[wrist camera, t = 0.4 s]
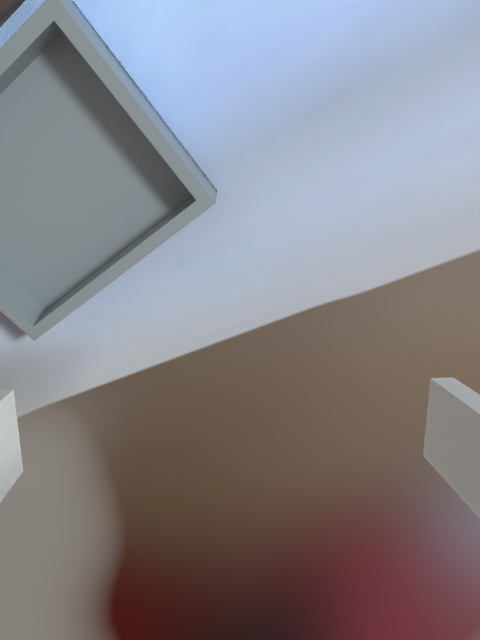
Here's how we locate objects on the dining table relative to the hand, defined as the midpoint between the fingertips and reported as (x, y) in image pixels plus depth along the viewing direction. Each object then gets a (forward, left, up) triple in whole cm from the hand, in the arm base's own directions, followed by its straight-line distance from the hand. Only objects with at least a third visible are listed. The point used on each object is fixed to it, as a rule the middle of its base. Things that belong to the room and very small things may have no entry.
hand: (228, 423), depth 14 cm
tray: (+10, -10, -27) cm, 30 cm away
